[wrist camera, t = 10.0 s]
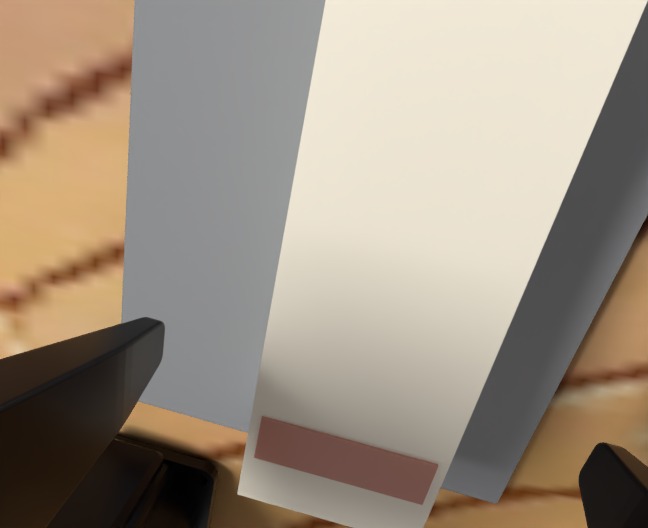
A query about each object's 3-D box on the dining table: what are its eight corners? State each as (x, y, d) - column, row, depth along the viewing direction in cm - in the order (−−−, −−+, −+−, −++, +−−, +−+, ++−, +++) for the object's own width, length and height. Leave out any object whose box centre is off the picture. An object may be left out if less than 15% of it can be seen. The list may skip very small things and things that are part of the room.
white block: (411, 440, 14) (415, 548, 11) (273, 402, 14) (236, 496, 11) (612, -105, 9) (747, -227, 5) (383, -148, 9) (376, -291, 6)
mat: (493, 488, 15) (496, 504, 14) (128, 384, 16) (118, 395, 15) (815, -150, 8) (845, -166, 8) (162, -274, 9) (147, -297, 9)
